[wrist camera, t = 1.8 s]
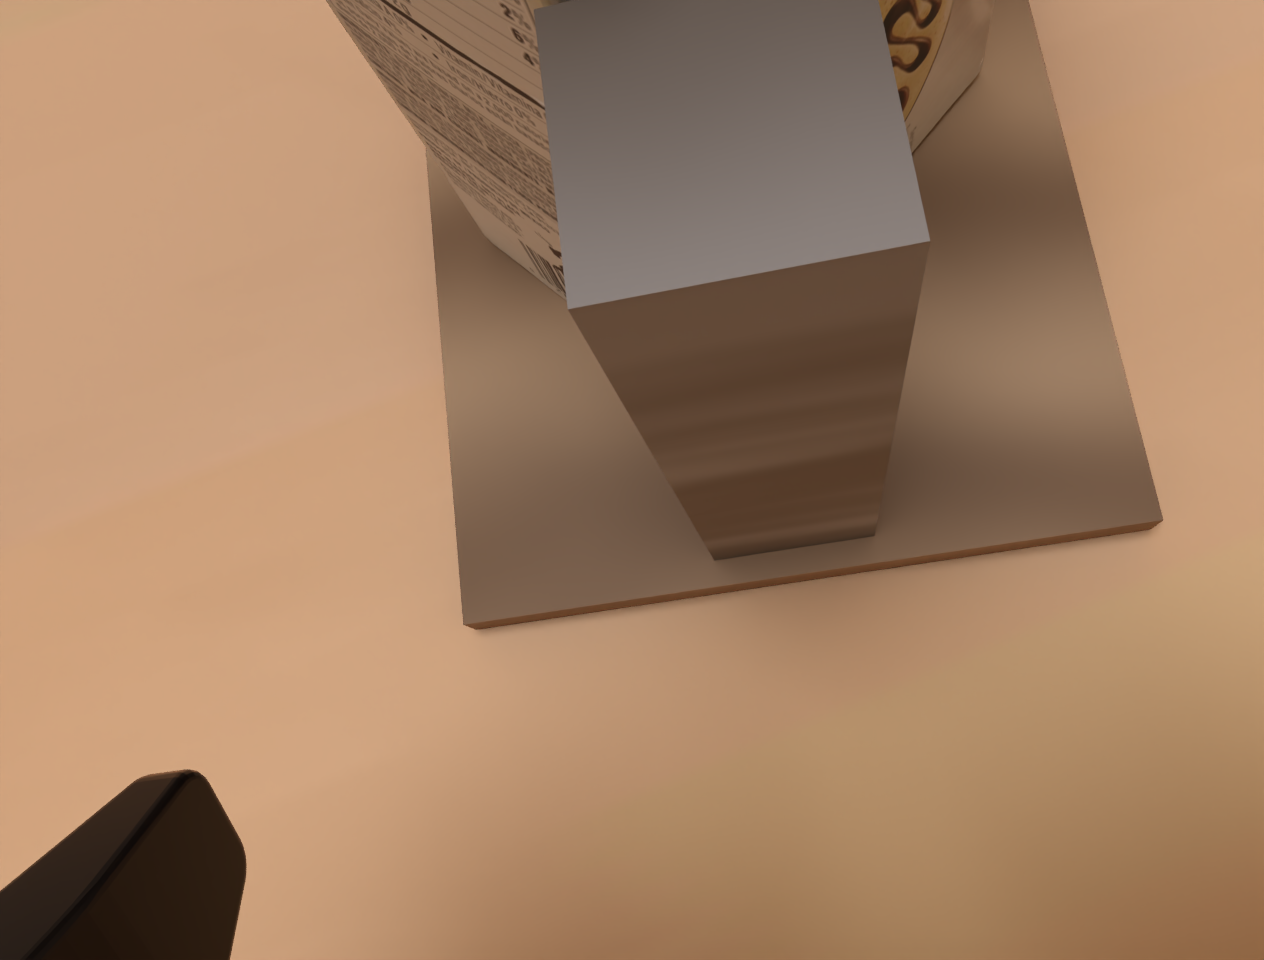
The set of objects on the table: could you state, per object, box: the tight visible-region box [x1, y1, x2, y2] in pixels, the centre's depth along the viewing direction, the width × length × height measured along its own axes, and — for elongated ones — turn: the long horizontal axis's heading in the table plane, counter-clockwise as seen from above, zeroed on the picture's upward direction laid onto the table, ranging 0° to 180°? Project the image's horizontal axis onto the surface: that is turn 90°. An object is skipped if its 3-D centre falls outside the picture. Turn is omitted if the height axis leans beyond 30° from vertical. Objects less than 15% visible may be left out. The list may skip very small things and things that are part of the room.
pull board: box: [426, 0, 1163, 629], centre depth 17 cm, size 15×13×13 cm
